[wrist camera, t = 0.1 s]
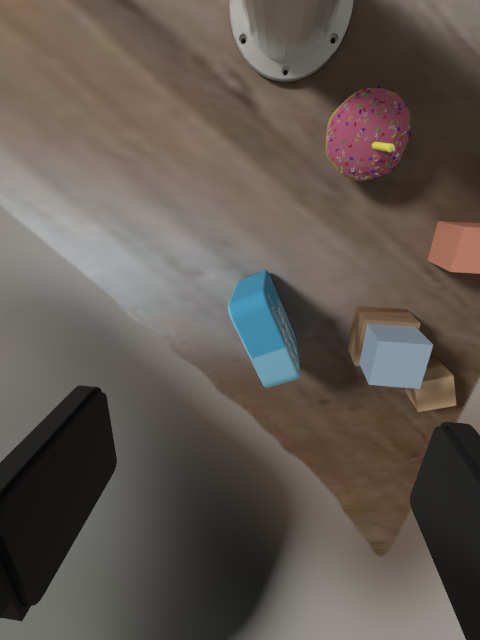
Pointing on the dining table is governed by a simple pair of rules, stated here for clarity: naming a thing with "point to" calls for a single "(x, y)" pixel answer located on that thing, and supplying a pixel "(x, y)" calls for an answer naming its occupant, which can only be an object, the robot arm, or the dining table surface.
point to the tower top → (395, 356)
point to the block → (434, 388)
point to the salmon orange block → (456, 247)
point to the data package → (265, 329)
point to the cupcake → (368, 134)
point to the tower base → (375, 317)
